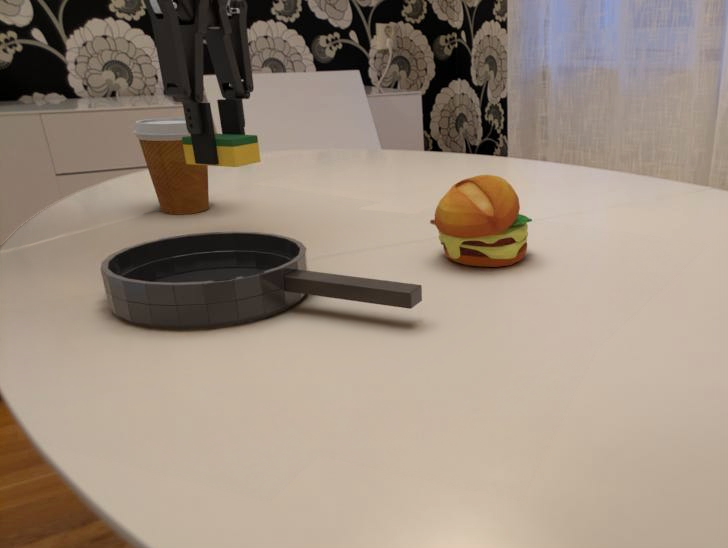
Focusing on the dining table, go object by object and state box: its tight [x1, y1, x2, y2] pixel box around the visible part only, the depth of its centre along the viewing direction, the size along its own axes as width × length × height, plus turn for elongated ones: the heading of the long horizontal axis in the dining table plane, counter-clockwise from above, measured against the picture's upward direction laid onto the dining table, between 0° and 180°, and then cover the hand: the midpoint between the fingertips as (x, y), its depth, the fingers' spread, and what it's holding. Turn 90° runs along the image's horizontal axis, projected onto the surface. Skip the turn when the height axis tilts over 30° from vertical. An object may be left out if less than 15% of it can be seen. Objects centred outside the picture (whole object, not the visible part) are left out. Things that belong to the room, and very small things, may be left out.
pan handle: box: [283, 270, 423, 310], centre depth 57 cm, size 12×2×1 cm, turn 70°
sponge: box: [182, 133, 262, 168], centre depth 78 cm, size 7×4×3 cm, turn 70°
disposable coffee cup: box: [133, 117, 210, 215], centre depth 93 cm, size 10×10×12 cm
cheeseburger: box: [429, 174, 533, 268], centre depth 73 cm, size 10×11×10 cm
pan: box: [99, 231, 310, 331], centre depth 61 cm, size 17×17×4 cm
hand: (222, 160), depth 79 cm, fingers closed on sponge, 4 cm apart
